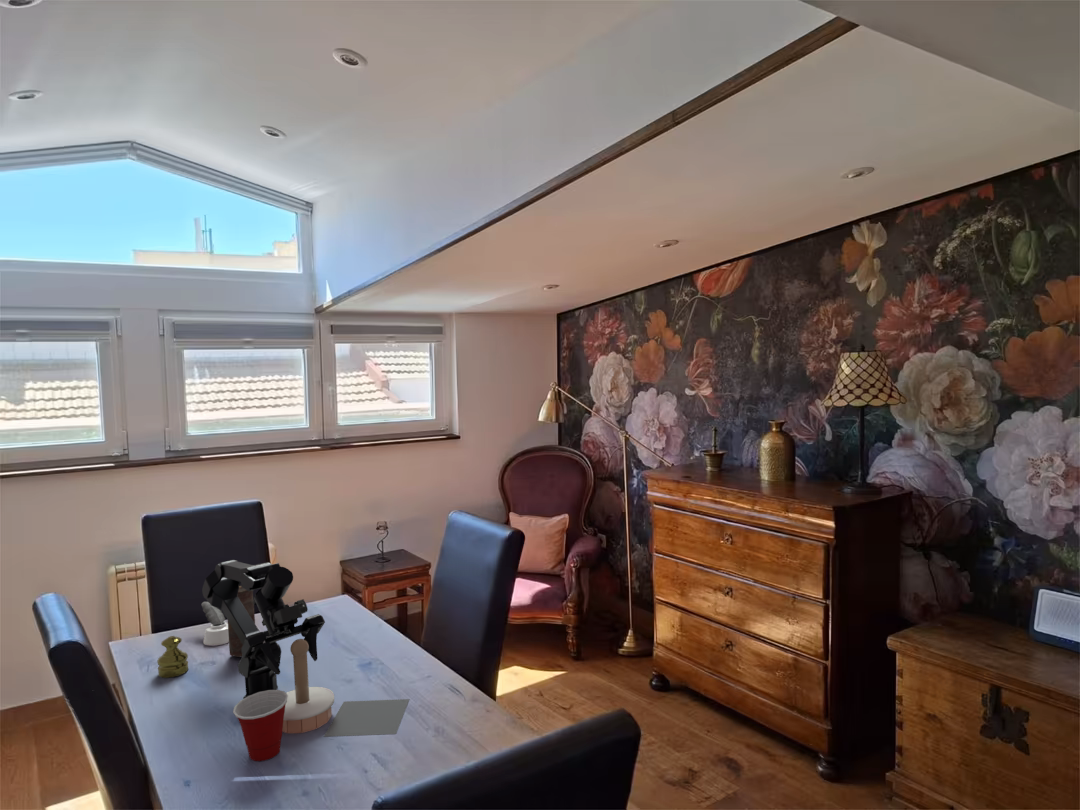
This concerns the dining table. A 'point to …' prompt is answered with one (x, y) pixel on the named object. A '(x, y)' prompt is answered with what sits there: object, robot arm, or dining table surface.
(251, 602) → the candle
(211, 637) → the inkwell
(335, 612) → the dining table surface
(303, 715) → the peg stand
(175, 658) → the olive green figurine
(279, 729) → the plastic cup
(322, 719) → the bowl
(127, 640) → the dining table surface
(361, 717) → the mat
